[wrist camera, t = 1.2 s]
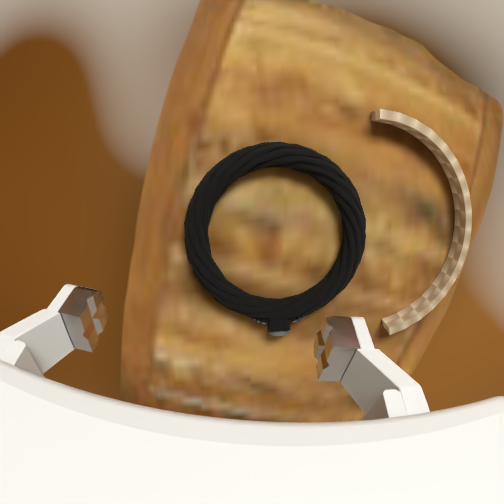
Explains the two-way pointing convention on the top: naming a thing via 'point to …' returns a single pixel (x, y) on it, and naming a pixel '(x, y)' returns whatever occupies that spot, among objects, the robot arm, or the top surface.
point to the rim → (460, 229)
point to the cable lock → (216, 186)
